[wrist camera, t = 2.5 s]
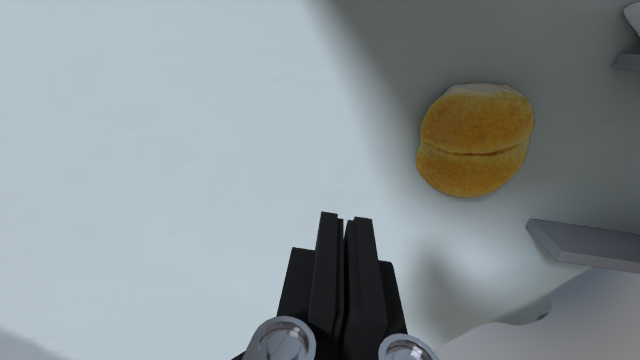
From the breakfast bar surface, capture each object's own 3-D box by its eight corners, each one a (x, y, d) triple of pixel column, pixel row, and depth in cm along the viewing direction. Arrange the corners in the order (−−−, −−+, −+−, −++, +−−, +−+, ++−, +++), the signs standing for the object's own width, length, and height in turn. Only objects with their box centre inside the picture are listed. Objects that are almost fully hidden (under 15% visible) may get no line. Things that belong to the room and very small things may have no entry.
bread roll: (409, 186, 27) (419, 210, 24) (423, 81, 23) (438, 91, 20) (505, 188, 27) (530, 213, 23) (536, 81, 23) (573, 92, 19)
